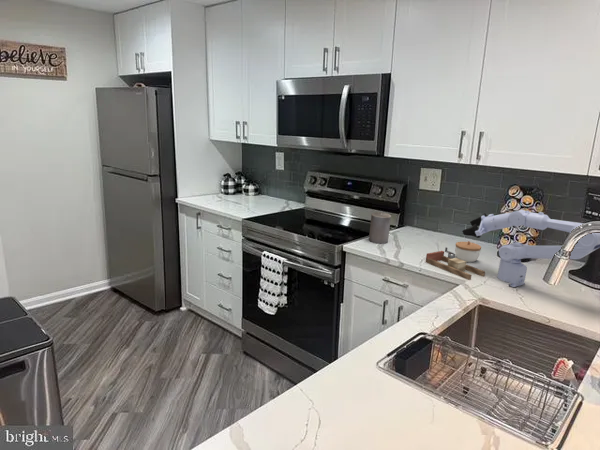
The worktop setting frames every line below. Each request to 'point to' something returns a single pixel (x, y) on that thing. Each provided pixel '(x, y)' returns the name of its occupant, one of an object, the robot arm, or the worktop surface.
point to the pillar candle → (379, 228)
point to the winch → (450, 254)
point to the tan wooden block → (457, 264)
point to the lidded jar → (467, 251)
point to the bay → (437, 256)
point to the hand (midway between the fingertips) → (467, 228)
